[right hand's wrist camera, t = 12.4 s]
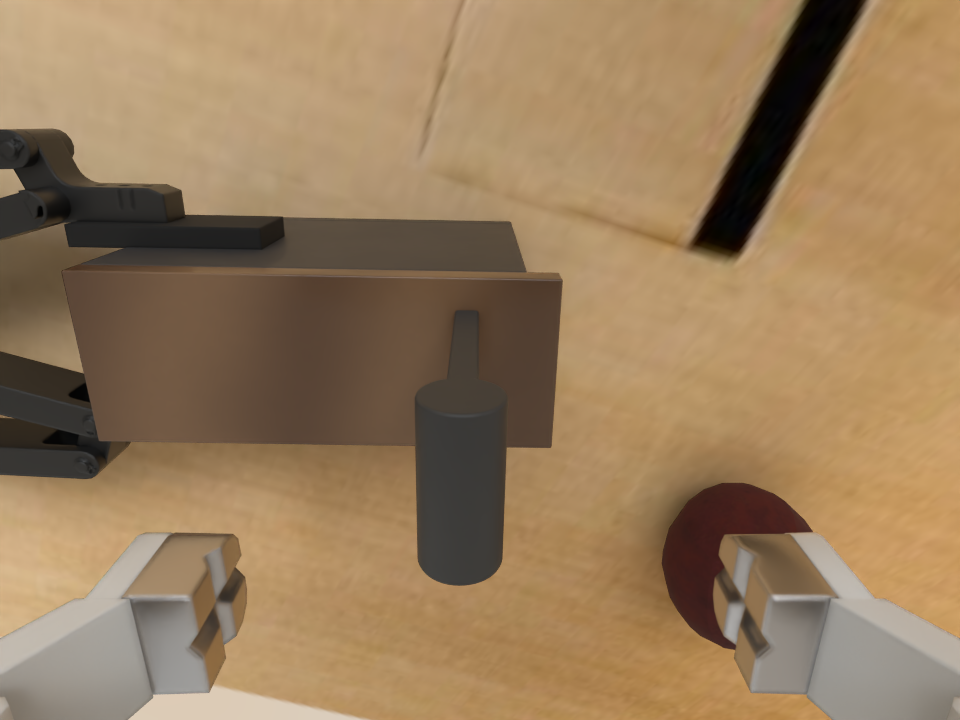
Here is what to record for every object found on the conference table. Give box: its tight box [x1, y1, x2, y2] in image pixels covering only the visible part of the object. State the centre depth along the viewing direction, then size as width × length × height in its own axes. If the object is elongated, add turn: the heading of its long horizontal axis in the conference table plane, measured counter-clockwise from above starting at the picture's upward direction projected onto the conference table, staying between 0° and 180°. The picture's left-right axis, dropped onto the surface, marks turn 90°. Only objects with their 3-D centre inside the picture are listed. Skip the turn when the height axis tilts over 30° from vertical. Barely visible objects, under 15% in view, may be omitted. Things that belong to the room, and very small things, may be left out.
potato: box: [662, 483, 813, 650], centre depth 30 cm, size 7×8×7 cm
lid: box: [62, 265, 563, 586], centre depth 16 cm, size 14×6×8 cm, turn 89°
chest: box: [81, 218, 526, 272], centre depth 25 cm, size 13×6×10 cm, turn 89°
